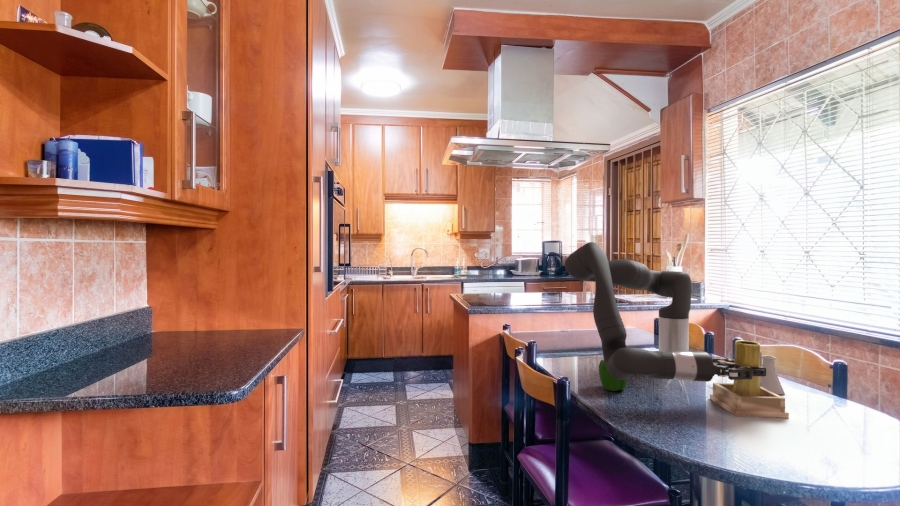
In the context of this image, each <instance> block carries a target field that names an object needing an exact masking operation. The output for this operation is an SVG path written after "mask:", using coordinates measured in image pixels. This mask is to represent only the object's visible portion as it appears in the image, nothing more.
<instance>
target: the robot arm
mask: <svg viewBox="0 0 900 506" xmlns="http://www.w3.org/2000/svg"><path fill="white" fill-rule="evenodd" d="M564 267H565V270H566V272H567V273H568V274H569V275H570V276H571V277H573V278H575V279H576V280H579V281H581V282H582V281H583V282H590V283H591V282H592V283H593V282H595V283H594V285H595V287H594V288H595V290H594V299H593V300H594V301H593V307H592V310H593V312H592V315H593V320H594V323H595V326H596V330H597V333H598V335H599V338H600V342H601V349H602V354H603V355H602V356H603V360H604V361H605V365H606V368H607V370H608V372H609V373H610V374H611V376H613V377H614V378H616V379H618V380H626V379H628V380H629V379H630V378H631V377H633V376H634V375H643V376H648V377H649V378H652V379H657V380H675V381H679V382H682V381H683V382H703V383H704V382H710V381H712V379H713V378H714V376H715V375H717V377H721V378H726V377H727V378H728V380H731V381H734V380H741V379H752V376H766V368H764V367H751V366H741V365H739V364H738V363H735V358H734V359H733V358H729V357H727V356H711V355H710V354H709V353H708V352H706V351H694V350H693V351H691V350H690V349H689V347H690V341H689V339H690V338H689V337H690V334H689V333H690V330H689V329H690V327H689V326H690V324H689V323H690V321H689V320H690V319H689V317H690V311H691V307H692V306H691V305H692V288H693V287H692V286H693V285H692V279H691V277H690V275H689V274H688V272H685V271H671V270H663V271H662V270H654V269H653V270H651V269H650V268H649V267H648V266H647V265H645V264H644V263H642V262H639V261H636V260H633V259H627V258H626V259H625V258H623V259H622V258H620V259H612V260H609V259H608V256H607V253H606V252H605V250H604V249H603V248H602V247H601V246H600V245H599V244H598V243H596V242H592V241H591V242H586V243H585V244H583V245H582V246H580V247H579V248H577V249H576V250H574V251H573V252H572V253H570V254H569V255H568V256H567V257H566V259H565V261H564ZM614 286H617V287H622V288H625V289H630V290H634V291H635V290H636V291H646V292H650V293H652V294H655V295H657V296H660V297H664V298H669V299H670V298H671V303H670V304H669V305H665V306H664V307H660V308H659V309H658V351H655V350H654V351H653V350H647V349H642V348H637V347H629V346H628V347H627V345H626V344H627V343H626V340H627V330H626V328H625V325H624V322H623V319H622V316H621V314H620V310H619V308H618V304H617V300H616V297H615V291H614ZM689 350H690V351H689ZM744 372H745V374H744Z"/></svg>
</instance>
